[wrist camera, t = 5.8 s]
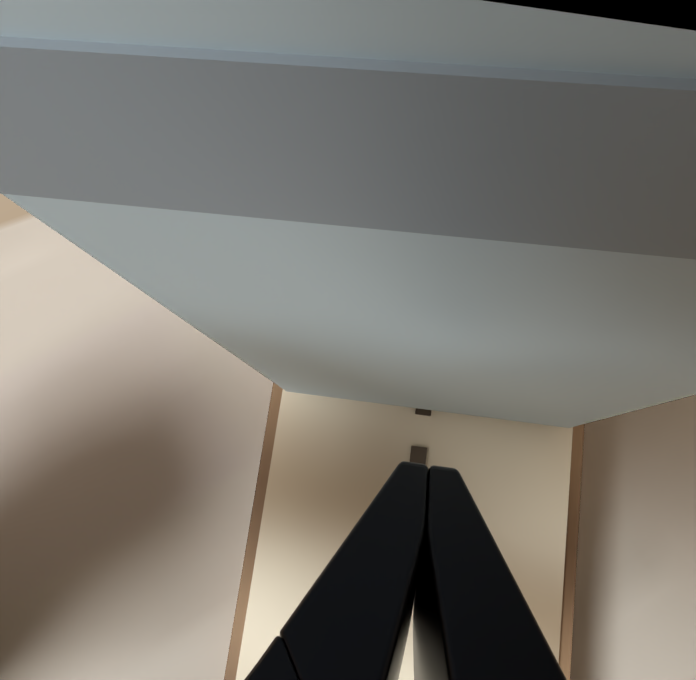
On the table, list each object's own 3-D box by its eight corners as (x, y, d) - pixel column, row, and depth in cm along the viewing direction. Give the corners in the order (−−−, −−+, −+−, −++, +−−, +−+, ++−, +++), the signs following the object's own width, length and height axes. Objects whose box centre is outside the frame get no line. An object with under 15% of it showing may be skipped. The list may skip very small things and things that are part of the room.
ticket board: (533, 900, 14) (555, 975, 12) (217, 831, 15) (187, 889, 13) (573, 277, 18) (596, 250, 16) (310, 250, 19) (298, 222, 16)
